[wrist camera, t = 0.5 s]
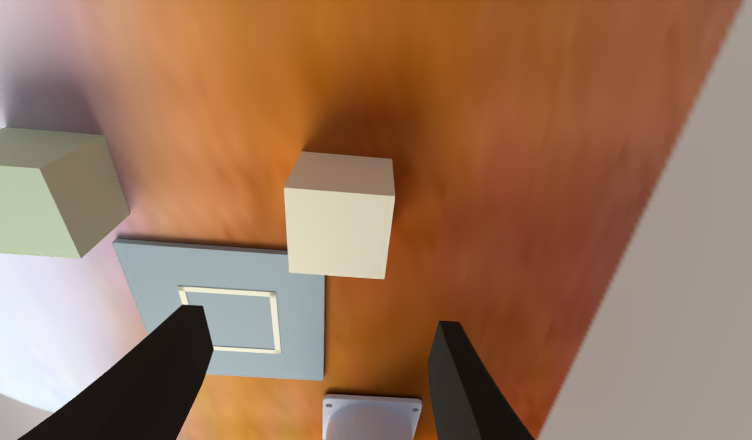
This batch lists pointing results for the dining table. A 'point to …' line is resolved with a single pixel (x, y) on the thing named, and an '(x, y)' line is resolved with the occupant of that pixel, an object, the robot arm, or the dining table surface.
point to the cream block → (339, 215)
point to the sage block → (56, 192)
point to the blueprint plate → (234, 304)
